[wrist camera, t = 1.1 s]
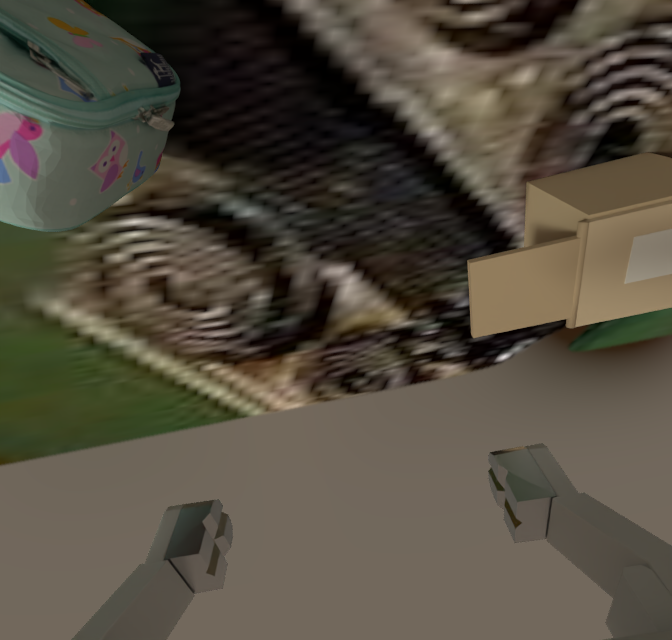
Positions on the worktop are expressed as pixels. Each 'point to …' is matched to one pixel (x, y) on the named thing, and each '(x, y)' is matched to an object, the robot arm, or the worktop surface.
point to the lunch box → (76, 113)
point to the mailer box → (594, 194)
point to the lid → (578, 274)
